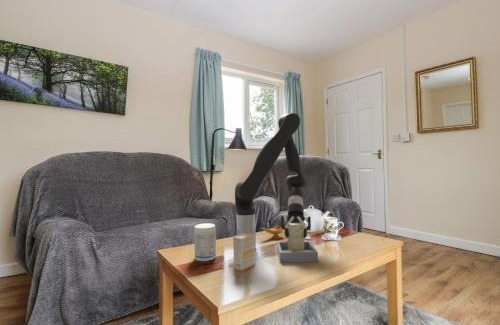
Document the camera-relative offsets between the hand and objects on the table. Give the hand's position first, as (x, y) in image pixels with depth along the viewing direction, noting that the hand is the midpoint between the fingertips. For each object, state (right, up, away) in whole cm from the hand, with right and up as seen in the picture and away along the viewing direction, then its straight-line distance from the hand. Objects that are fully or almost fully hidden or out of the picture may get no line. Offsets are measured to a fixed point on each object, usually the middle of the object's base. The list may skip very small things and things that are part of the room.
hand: (295, 237), depth 121 cm
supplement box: (-23, -9, -11) cm, 27 cm away
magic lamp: (-7, -9, +31) cm, 34 cm away
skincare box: (0, -6, +1) cm, 7 cm away
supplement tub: (-41, -10, 0) cm, 42 cm away
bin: (0, -9, +1) cm, 9 cm away
